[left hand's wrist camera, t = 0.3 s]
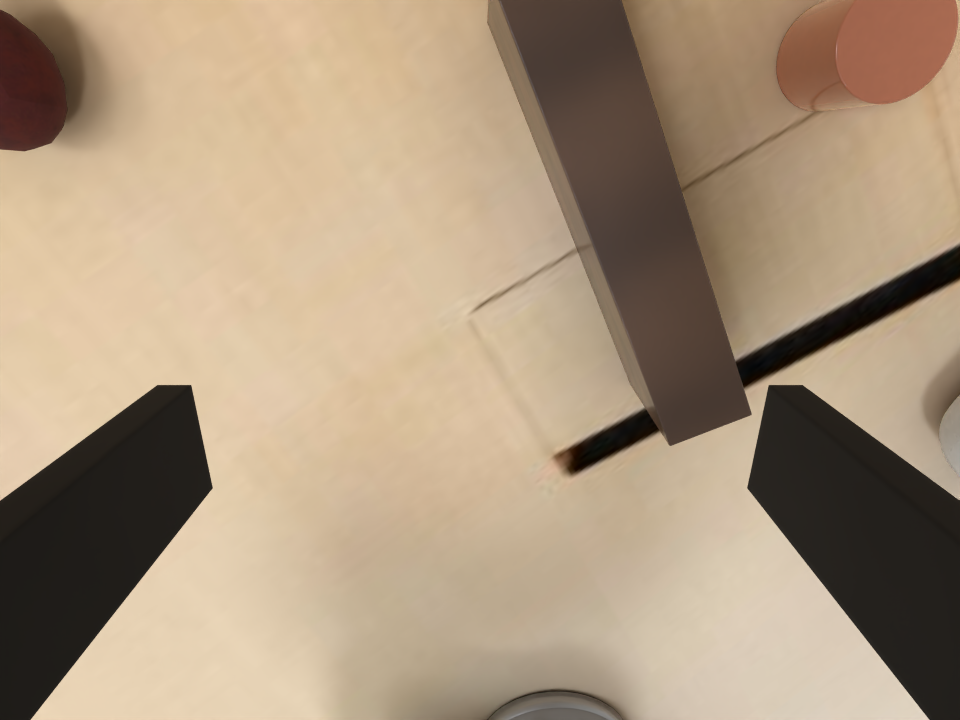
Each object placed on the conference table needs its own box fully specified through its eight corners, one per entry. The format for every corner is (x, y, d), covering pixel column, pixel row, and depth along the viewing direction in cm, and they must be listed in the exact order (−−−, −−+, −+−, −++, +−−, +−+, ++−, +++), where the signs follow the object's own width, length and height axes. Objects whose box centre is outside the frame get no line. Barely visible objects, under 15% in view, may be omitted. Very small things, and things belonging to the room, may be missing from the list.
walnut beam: (695, 359, 40) (752, 415, 32) (631, 385, 41) (669, 446, 33) (565, -21, 32) (596, -82, 23) (486, 21, 32) (489, -24, 24)
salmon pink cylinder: (857, 116, 34) (931, 109, 29) (764, 106, 34) (820, 98, 28) (892, 5, 32) (979, -26, 27) (792, -6, 32) (859, -40, 26)
